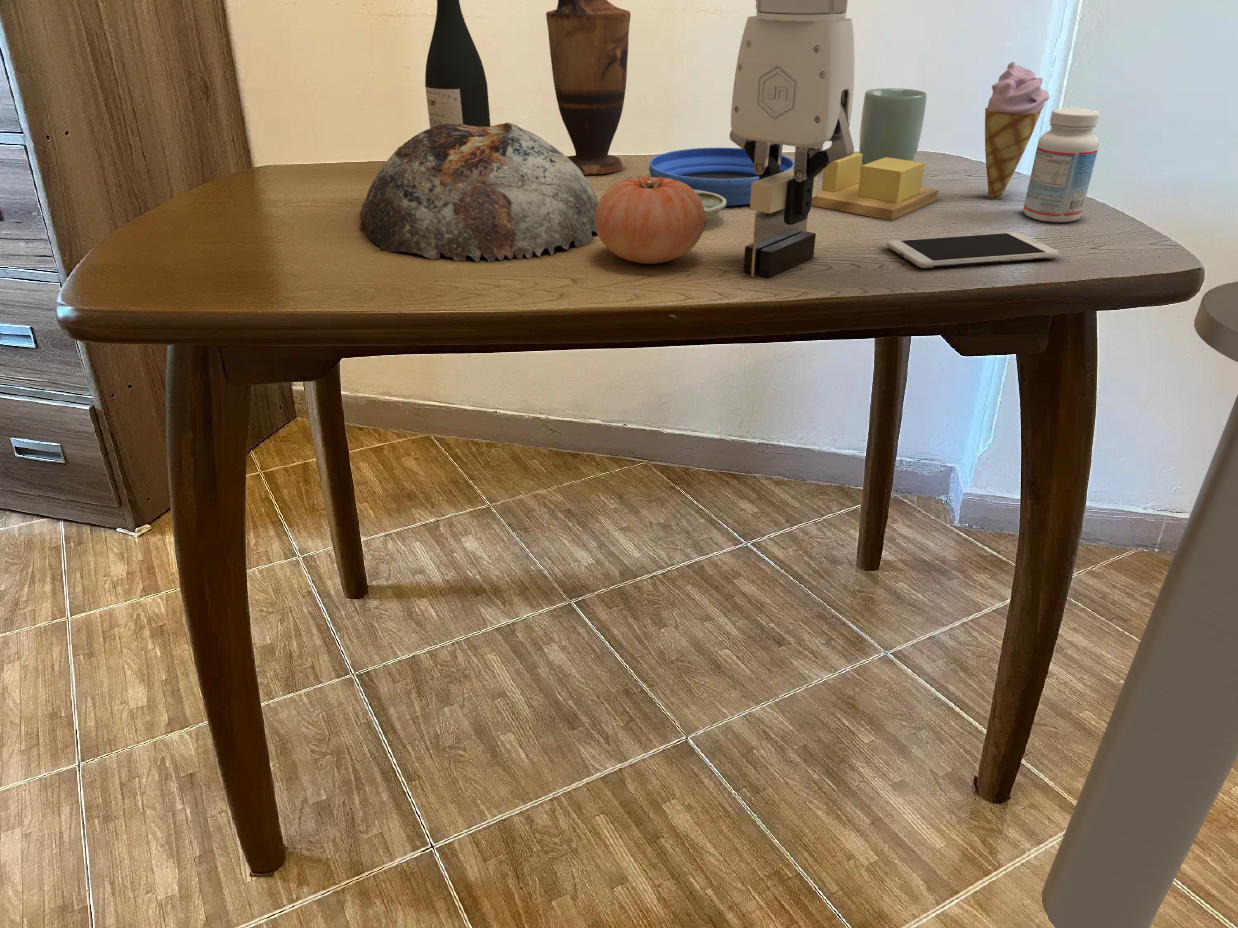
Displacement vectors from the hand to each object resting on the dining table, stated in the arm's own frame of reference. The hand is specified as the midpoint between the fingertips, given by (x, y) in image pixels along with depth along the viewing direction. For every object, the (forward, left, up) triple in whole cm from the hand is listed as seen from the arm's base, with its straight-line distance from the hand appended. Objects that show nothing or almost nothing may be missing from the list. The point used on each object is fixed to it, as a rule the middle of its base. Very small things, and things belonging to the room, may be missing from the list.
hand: (782, 217), depth 83 cm
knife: (0, 0, -5) cm, 5 cm away
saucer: (+17, -7, -5) cm, 19 cm away
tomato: (+11, +6, -5) cm, 14 cm away
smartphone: (-13, -15, -5) cm, 20 cm away
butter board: (+4, -28, -5) cm, 28 cm away
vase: (+43, -19, -5) cm, 47 cm away
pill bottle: (-14, -35, -5) cm, 38 cm away
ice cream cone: (-6, -40, -5) cm, 40 cm away
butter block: (+2, -28, -3) cm, 28 cm away
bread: (+35, +7, -5) cm, 36 cm away
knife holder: (0, 0, -5) cm, 5 cm away
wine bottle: (+54, -6, -5) cm, 54 cm away
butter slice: (+9, -28, -3) cm, 29 cm away
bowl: (+22, -21, -5) cm, 30 cm away
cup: (+11, -44, -5) cm, 45 cm away
